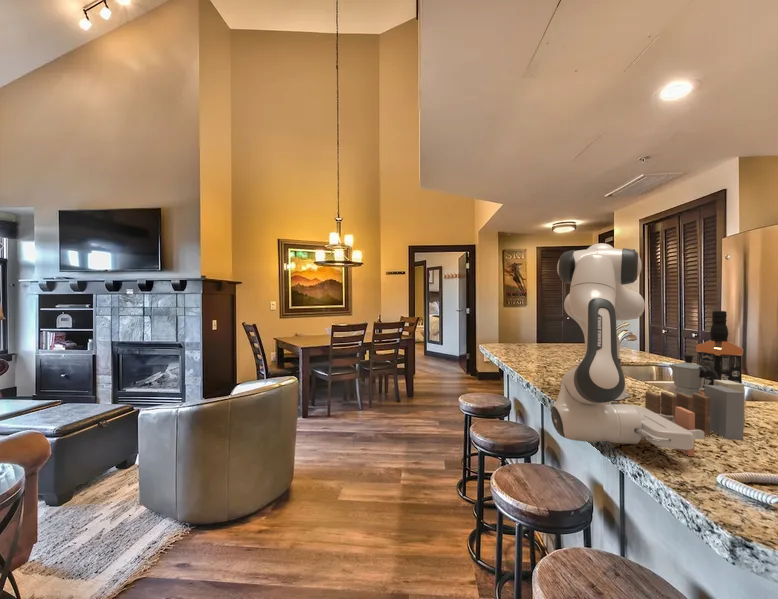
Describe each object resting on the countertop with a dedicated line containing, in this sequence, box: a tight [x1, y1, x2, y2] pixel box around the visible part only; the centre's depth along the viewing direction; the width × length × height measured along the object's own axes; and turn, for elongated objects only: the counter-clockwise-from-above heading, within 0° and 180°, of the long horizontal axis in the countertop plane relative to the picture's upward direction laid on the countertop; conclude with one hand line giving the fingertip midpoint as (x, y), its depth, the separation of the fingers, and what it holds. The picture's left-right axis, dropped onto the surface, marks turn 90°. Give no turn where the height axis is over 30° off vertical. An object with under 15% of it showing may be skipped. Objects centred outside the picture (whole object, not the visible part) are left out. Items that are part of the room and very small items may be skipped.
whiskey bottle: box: [695, 310, 744, 396], centre depth 129 cm, size 10×10×32 cm
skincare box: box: [714, 380, 746, 428], centre depth 109 cm, size 6×4×12 cm
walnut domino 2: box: [660, 391, 677, 417], centre depth 102 cm, size 1×5×10 cm, turn 173°
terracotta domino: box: [675, 407, 696, 457], centre depth 88 cm, size 1×5×10 cm, turn 172°
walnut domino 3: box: [677, 393, 694, 412], centre depth 102 cm, size 1×5×10 cm, turn 173°
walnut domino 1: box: [644, 391, 661, 414], centre depth 103 cm, size 1×5×10 cm, turn 172°
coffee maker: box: [668, 354, 720, 397], centre depth 120 cm, size 15×9×18 cm, turn 18°
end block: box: [705, 385, 745, 441], centre depth 101 cm, size 8×4×12 cm, turn 173°
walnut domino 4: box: [693, 393, 711, 437], centre depth 101 cm, size 1×5×10 cm, turn 173°
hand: (688, 426), depth 88 cm, fingers open, 8 cm apart
